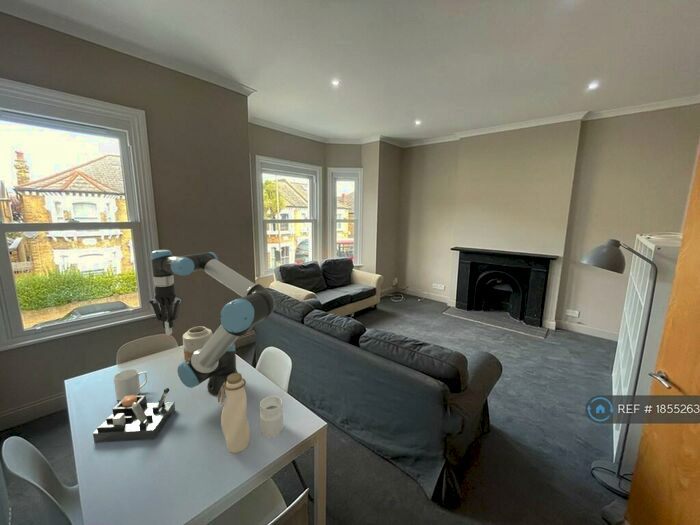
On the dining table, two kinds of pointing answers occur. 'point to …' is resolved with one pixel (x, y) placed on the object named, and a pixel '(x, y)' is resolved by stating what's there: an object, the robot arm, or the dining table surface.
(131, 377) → the mug
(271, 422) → the cream cylinder
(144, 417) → the lever
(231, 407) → the water bottle
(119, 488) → the dining table surface
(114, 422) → the slider
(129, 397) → the button
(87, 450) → the dining table surface
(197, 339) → the vase
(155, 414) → the panel
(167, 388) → the lever
